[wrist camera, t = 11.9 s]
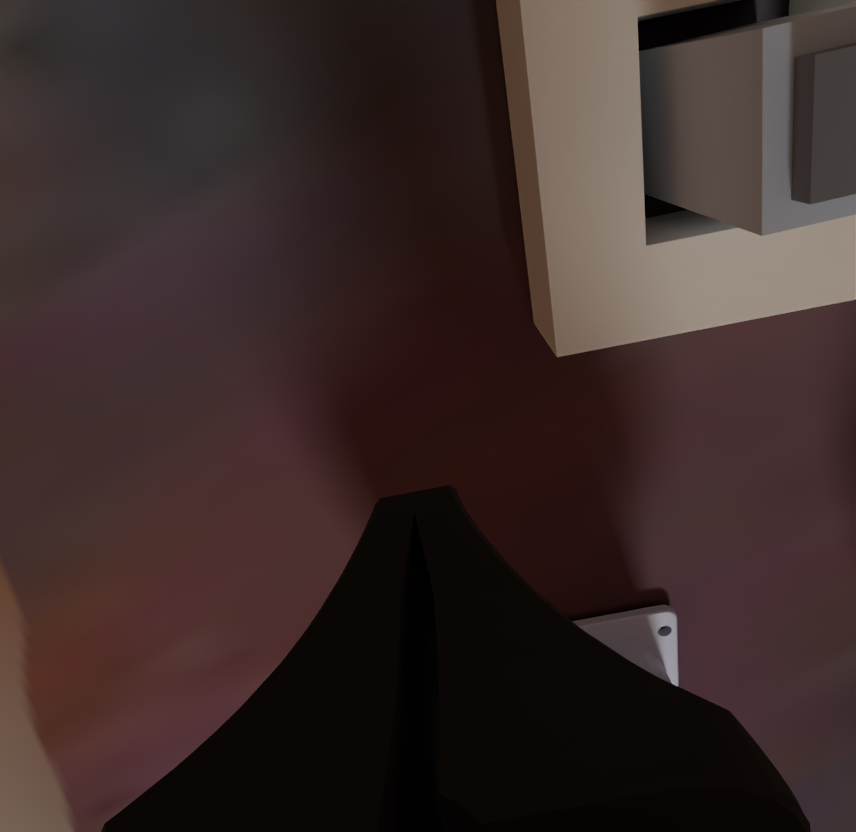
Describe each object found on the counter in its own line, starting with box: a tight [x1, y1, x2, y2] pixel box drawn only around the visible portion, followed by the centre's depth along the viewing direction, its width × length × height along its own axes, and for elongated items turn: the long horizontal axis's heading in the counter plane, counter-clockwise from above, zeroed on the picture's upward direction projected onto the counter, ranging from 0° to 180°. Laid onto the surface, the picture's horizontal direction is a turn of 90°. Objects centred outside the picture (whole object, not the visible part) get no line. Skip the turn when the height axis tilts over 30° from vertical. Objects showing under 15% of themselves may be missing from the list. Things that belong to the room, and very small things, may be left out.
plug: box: [639, 2, 856, 236], centre depth 15 cm, size 4×4×8 cm
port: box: [496, 0, 856, 357], centre depth 17 cm, size 10×10×3 cm
